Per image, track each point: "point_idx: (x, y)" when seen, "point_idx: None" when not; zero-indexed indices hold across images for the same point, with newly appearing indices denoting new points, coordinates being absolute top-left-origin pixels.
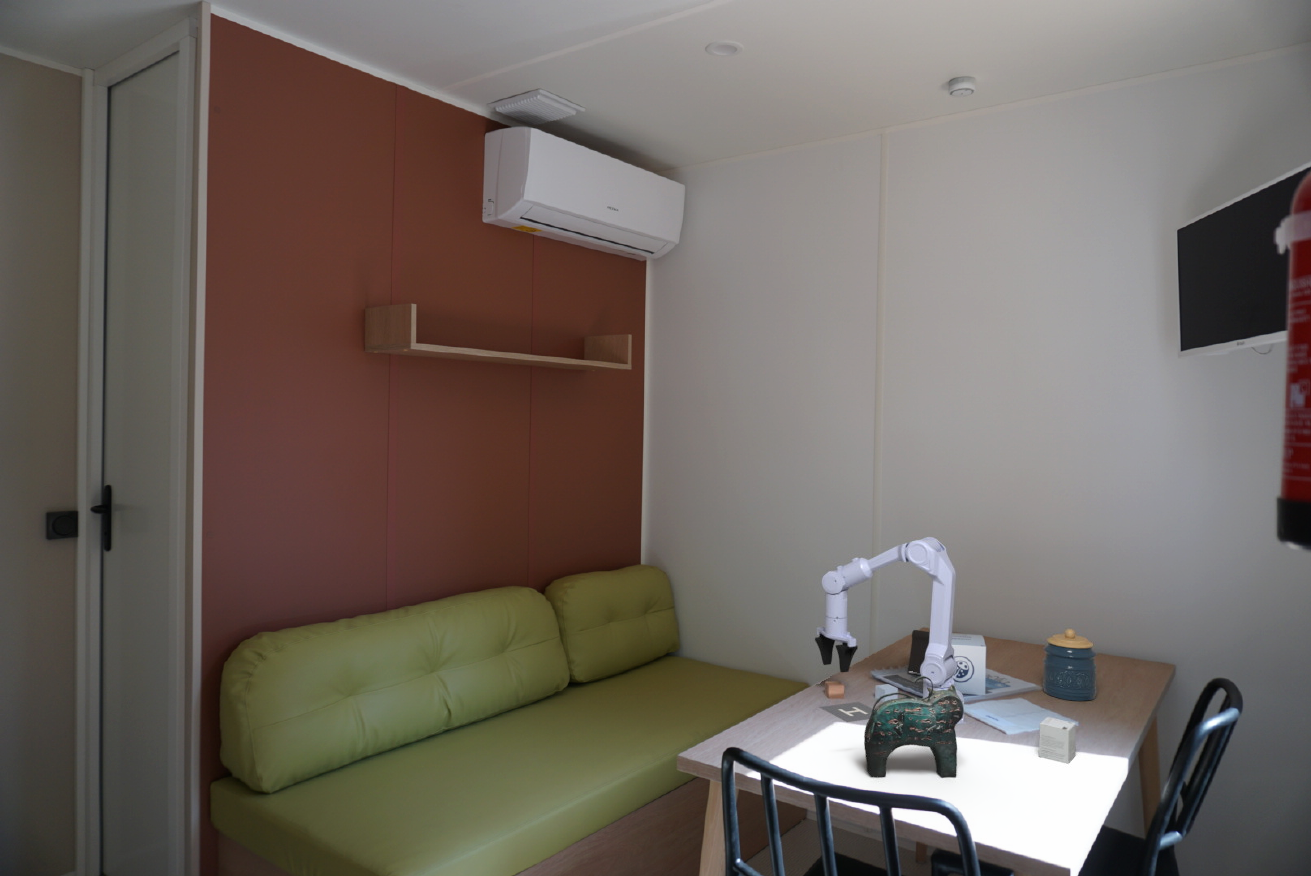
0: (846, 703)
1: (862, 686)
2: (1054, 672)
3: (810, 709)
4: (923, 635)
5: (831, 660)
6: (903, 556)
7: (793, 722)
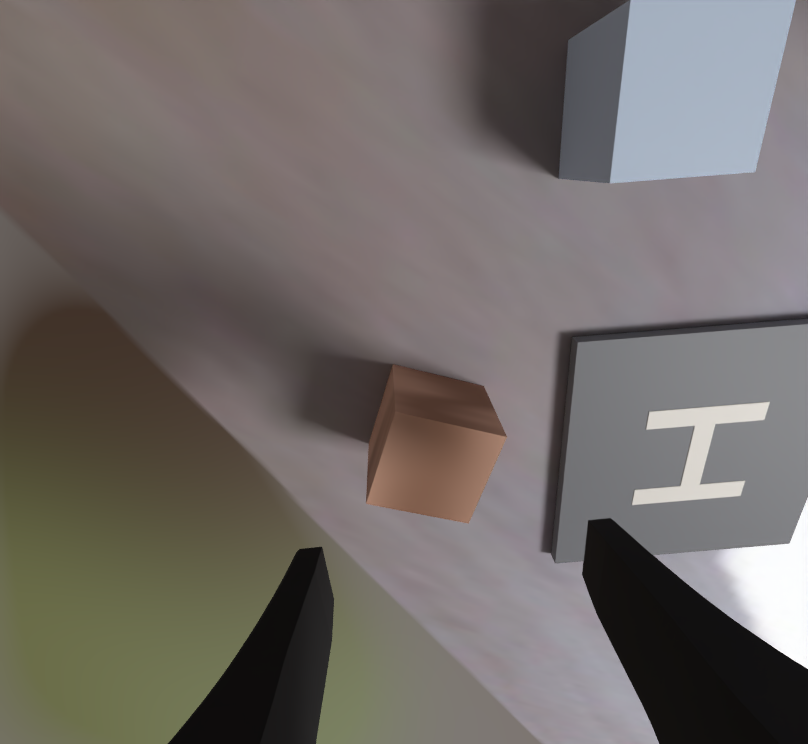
0: (572, 424)
1: (196, 48)
2: None
3: (534, 581)
4: None
5: (315, 572)
6: None
7: None
